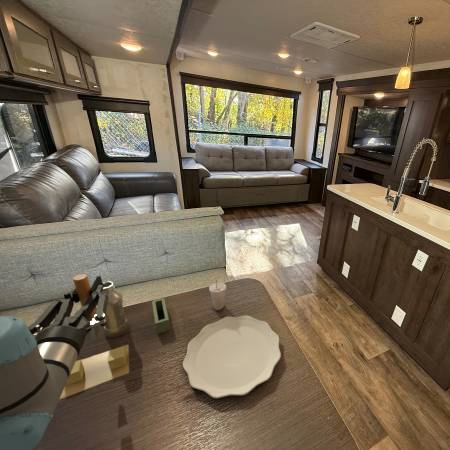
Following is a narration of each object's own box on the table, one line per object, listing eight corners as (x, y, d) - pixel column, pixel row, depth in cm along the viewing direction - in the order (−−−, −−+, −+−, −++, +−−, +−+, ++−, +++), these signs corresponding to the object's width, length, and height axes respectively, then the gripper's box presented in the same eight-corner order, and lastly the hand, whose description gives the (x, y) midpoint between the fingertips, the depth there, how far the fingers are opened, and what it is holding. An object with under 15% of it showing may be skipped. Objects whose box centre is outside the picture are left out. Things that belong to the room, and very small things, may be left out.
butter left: (67, 374, 68) (63, 365, 67) (84, 368, 70) (80, 359, 68) (64, 386, 65) (60, 377, 63) (82, 379, 67) (79, 371, 65)
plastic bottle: (108, 329, 84) (94, 281, 76) (131, 324, 87) (120, 277, 79) (103, 344, 79) (88, 293, 71) (129, 338, 82) (116, 289, 74)
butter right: (111, 359, 73) (108, 350, 72) (125, 354, 75) (123, 345, 73) (110, 370, 70) (107, 361, 68) (125, 364, 72) (123, 356, 70)
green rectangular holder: (154, 313, 92) (151, 300, 90) (166, 310, 95) (164, 297, 92) (157, 337, 83) (155, 323, 81) (170, 332, 85) (168, 319, 83)
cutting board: (52, 373, 69) (50, 370, 68) (129, 347, 79) (128, 344, 78) (42, 410, 61) (40, 406, 60) (130, 376, 70) (129, 372, 70)
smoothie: (206, 308, 97) (204, 278, 92) (218, 299, 103) (217, 270, 97) (218, 314, 95) (217, 284, 89) (230, 305, 100) (229, 276, 95)
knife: (92, 323, 68) (75, 269, 61) (103, 320, 69) (88, 267, 62) (88, 344, 62) (69, 287, 55) (101, 340, 63) (84, 284, 56)
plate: (205, 427, 60) (205, 421, 60) (172, 345, 81) (172, 340, 80) (297, 364, 78) (298, 358, 77) (252, 309, 99) (252, 305, 98)
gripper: (1, 382, 44) (58, 298, 64) (108, 357, 50) (129, 287, 70) (-16, 352, 41) (49, 274, 61) (100, 329, 47) (124, 265, 67)
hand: (92, 281), depth 65 cm, fingers closed on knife, 3 cm apart
